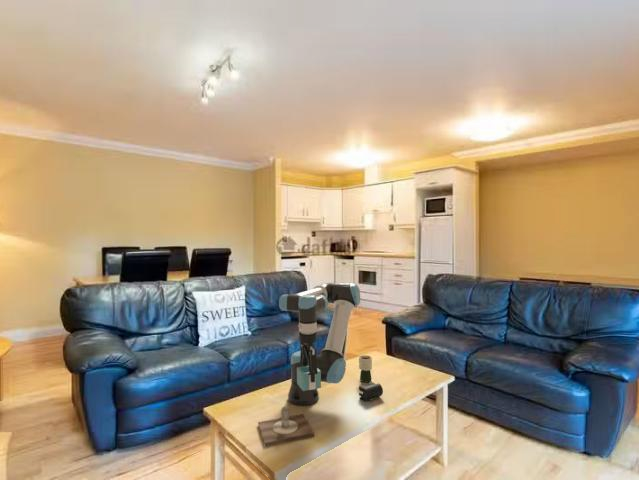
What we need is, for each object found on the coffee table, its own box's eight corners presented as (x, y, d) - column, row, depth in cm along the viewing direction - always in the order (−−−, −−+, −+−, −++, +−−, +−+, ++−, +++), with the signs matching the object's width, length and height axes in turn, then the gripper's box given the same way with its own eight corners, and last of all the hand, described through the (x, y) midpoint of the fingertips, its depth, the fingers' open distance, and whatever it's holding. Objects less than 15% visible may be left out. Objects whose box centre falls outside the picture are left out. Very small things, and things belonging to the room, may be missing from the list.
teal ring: (297, 383, 154) (296, 367, 154) (314, 380, 157) (314, 364, 156) (302, 391, 146) (302, 374, 146) (321, 387, 149) (320, 371, 149)
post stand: (258, 425, 152) (257, 402, 152) (303, 417, 159) (302, 394, 158) (264, 446, 137) (264, 421, 137) (314, 436, 144) (313, 411, 143)
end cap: (367, 404, 169) (367, 390, 169) (358, 398, 175) (358, 385, 175) (383, 398, 175) (383, 385, 174) (373, 393, 181) (373, 380, 180)
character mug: (366, 375, 202) (365, 353, 202) (376, 379, 198) (376, 356, 197) (354, 382, 194) (354, 358, 194) (365, 385, 190) (364, 361, 189)
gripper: (292, 327, 159) (293, 377, 160) (307, 339, 140) (308, 396, 140) (308, 325, 162) (308, 374, 162) (325, 337, 143) (326, 393, 143)
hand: (308, 385), depth 151 cm, fingers closed on teal ring, 8 cm apart
